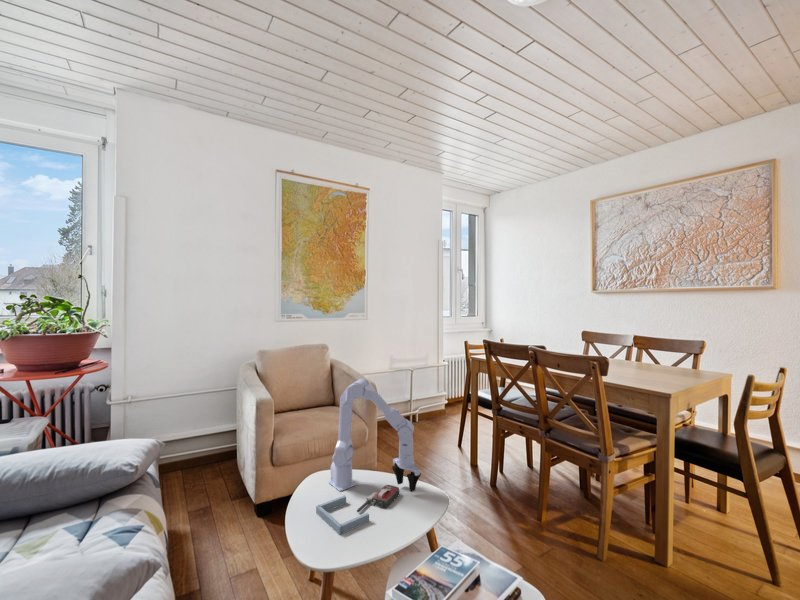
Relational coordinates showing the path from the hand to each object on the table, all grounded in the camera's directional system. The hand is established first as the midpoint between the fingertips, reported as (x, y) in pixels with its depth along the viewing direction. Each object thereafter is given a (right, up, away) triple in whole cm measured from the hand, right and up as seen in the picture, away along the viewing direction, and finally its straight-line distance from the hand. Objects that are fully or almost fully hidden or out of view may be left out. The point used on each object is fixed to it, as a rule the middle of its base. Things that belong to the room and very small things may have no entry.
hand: (406, 487), depth 151 cm
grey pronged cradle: (-22, -1, -18) cm, 29 cm away
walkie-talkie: (-10, -2, -9) cm, 14 cm away
